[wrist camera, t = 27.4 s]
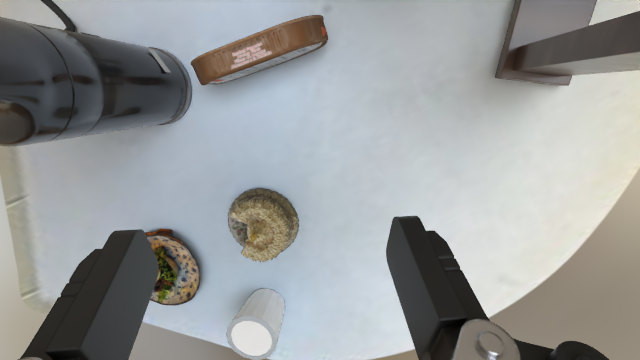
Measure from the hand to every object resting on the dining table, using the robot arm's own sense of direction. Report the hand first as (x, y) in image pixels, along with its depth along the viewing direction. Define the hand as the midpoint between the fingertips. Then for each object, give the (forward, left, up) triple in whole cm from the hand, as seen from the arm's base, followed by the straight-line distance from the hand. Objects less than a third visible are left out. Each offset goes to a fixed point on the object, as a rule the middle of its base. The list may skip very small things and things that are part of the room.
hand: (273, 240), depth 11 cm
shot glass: (+2, -28, -30) cm, 42 cm away
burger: (-14, -30, -31) cm, 45 cm away
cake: (-4, -16, -31) cm, 35 cm away
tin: (-12, +4, -31) cm, 33 cm away
